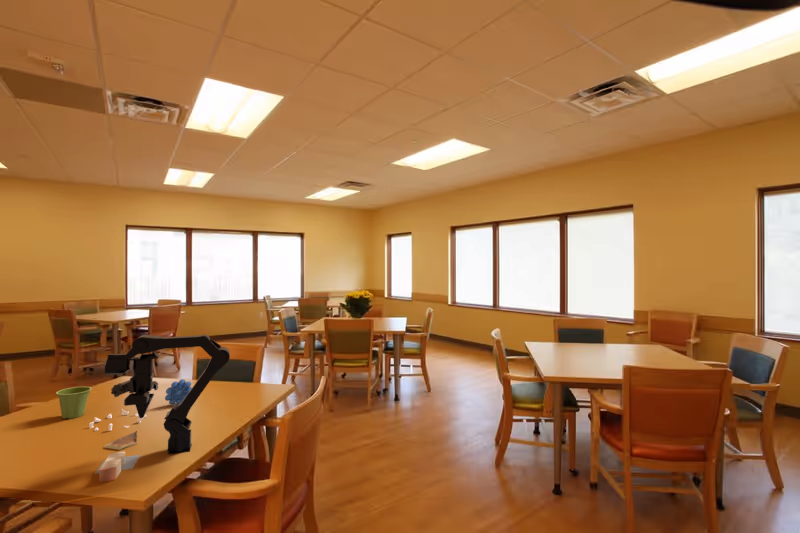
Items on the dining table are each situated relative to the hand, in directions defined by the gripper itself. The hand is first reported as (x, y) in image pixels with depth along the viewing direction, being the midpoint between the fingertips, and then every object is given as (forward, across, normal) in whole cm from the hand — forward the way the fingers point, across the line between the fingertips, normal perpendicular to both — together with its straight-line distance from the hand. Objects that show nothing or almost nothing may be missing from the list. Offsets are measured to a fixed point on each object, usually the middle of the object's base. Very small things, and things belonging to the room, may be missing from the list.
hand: (141, 417), depth 131 cm
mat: (+13, +5, -5) cm, 15 cm away
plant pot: (+13, -53, -36) cm, 65 cm away
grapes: (+13, -55, +4) cm, 57 cm away
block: (+10, +6, -5) cm, 13 cm away
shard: (+14, -13, -9) cm, 21 cm away
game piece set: (+14, -38, -16) cm, 43 cm away
